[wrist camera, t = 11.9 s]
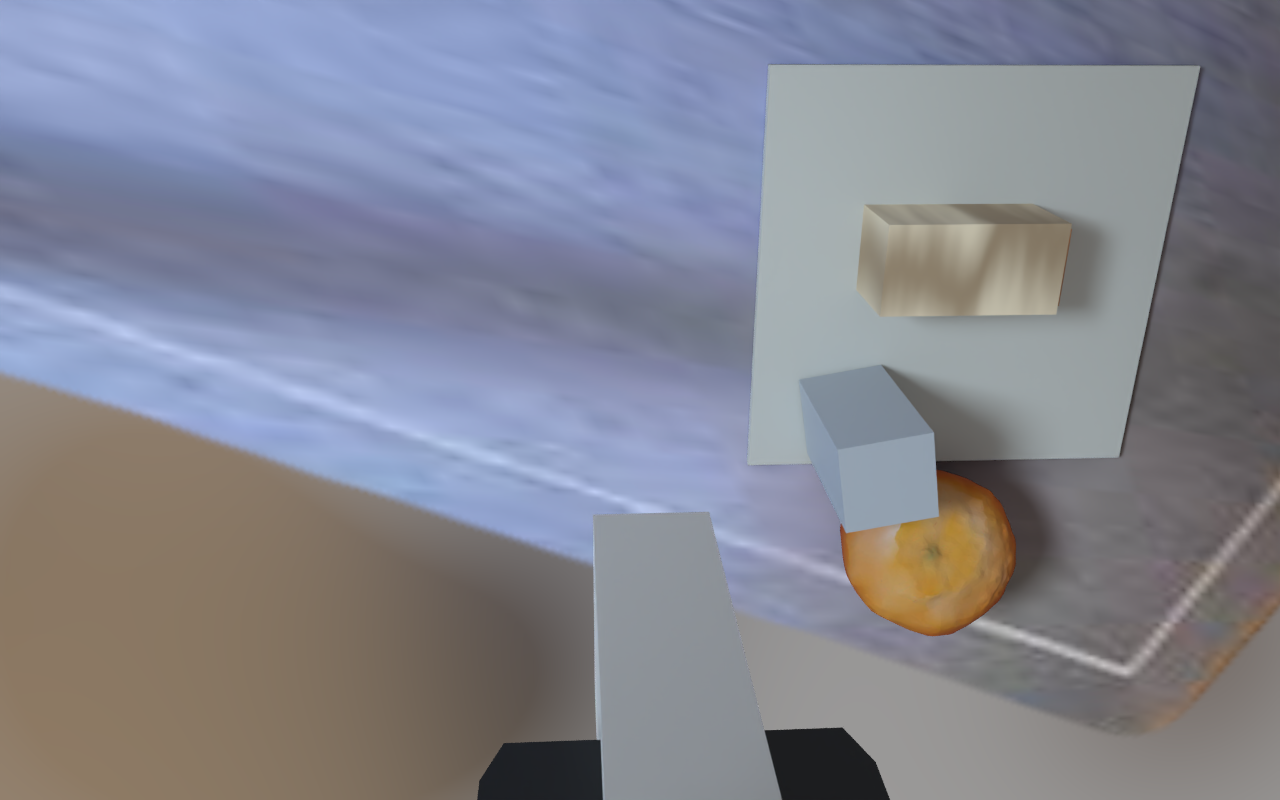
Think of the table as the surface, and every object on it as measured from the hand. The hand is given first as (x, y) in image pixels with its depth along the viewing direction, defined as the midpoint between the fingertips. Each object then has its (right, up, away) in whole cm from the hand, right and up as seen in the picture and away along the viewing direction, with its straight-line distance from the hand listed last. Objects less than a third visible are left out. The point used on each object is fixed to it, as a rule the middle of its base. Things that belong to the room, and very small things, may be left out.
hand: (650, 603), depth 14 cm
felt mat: (+15, +9, +35) cm, 39 cm away
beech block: (+18, +9, +32) cm, 38 cm away
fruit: (+14, -3, +40) cm, 42 cm away
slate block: (+10, +2, +37) cm, 38 cm away
